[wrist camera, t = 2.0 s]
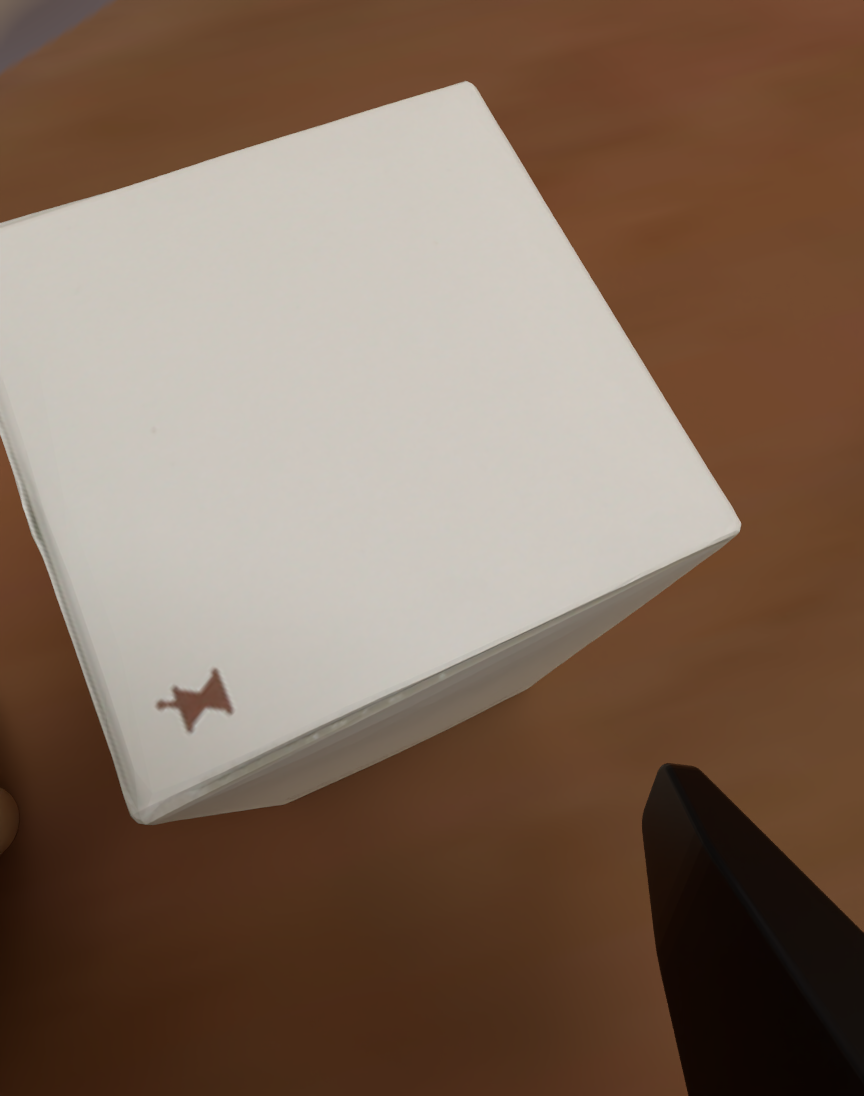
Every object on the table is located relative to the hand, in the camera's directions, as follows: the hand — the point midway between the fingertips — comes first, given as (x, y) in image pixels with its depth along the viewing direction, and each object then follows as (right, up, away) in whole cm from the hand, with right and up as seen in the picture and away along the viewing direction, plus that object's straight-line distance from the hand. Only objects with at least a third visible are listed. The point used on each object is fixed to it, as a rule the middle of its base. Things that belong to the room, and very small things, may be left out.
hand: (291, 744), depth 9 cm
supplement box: (0, 0, +12) cm, 12 cm away
